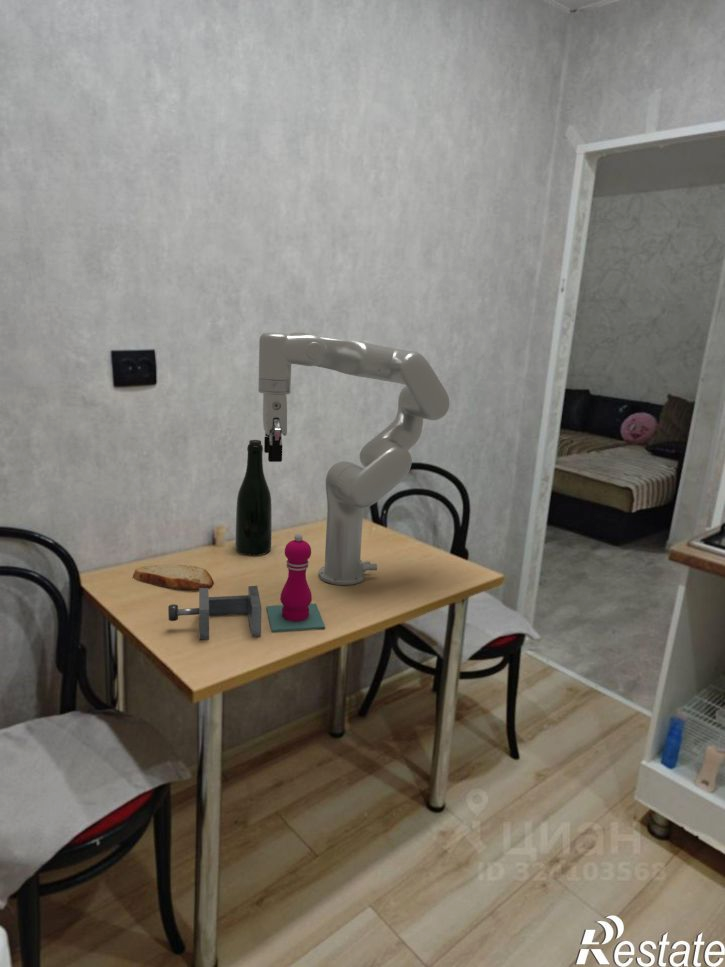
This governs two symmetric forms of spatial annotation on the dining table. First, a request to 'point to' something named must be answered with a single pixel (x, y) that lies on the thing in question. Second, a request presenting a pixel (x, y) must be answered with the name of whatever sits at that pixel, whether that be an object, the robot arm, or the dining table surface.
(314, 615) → the mat
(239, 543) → the dark green wine bottle
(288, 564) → the pepper mill
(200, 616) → the grey c-clamp
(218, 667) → the dining table surface
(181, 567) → the bread slice
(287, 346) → the robot arm
